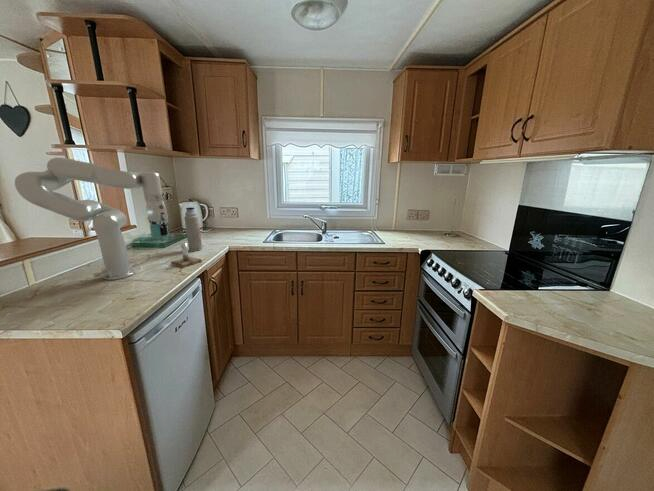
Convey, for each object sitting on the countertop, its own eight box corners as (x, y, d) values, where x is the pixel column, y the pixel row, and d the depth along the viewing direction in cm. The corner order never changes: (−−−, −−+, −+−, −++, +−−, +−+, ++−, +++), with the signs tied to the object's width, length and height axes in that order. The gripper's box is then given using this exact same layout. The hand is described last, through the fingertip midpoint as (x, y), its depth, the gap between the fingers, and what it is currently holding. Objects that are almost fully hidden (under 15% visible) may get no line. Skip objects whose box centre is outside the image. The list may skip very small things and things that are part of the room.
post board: (183, 267, 143) (183, 264, 143) (171, 264, 148) (171, 261, 148) (201, 261, 153) (201, 259, 152) (189, 259, 158) (189, 256, 157)
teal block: (157, 238, 129) (155, 225, 128) (149, 236, 133) (147, 224, 131) (171, 235, 135) (169, 223, 133) (163, 233, 138) (161, 222, 137)
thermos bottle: (204, 248, 180) (199, 207, 172) (197, 251, 172) (191, 208, 165) (194, 247, 181) (188, 206, 174) (186, 251, 174) (180, 208, 166)
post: (185, 261, 148) (182, 244, 145) (182, 260, 149) (179, 243, 147) (190, 260, 151) (188, 243, 148) (187, 259, 152) (184, 242, 149)
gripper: (172, 198, 128) (177, 234, 133) (151, 197, 136) (157, 231, 141) (156, 199, 122) (162, 237, 126) (135, 198, 130) (142, 233, 134)
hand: (160, 234), depth 134 cm, fingers closed on teal block, 6 cm apart
